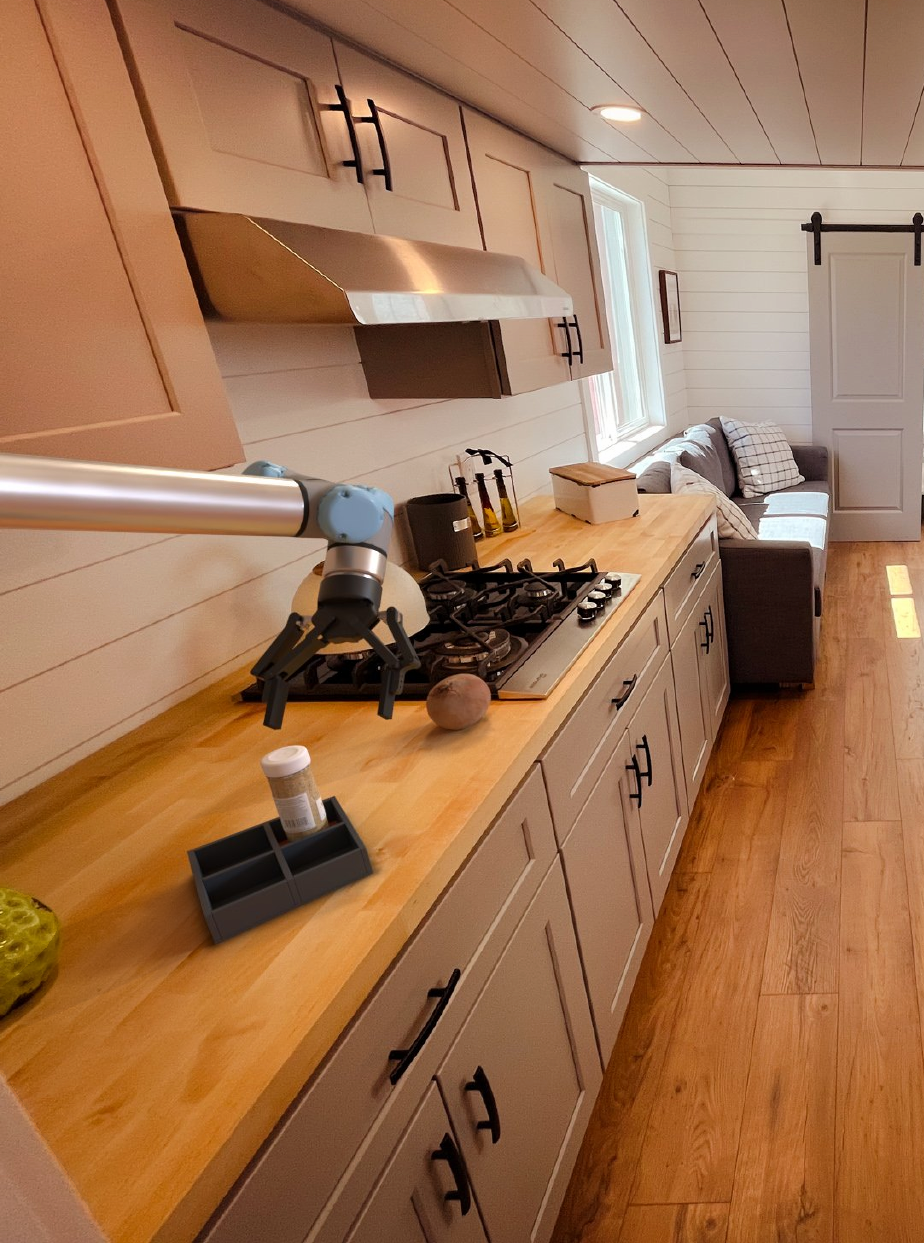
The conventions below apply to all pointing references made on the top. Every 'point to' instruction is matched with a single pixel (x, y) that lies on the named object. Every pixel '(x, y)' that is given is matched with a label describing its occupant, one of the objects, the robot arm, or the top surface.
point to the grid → (274, 871)
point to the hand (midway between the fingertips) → (329, 722)
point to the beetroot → (458, 701)
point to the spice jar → (294, 791)
